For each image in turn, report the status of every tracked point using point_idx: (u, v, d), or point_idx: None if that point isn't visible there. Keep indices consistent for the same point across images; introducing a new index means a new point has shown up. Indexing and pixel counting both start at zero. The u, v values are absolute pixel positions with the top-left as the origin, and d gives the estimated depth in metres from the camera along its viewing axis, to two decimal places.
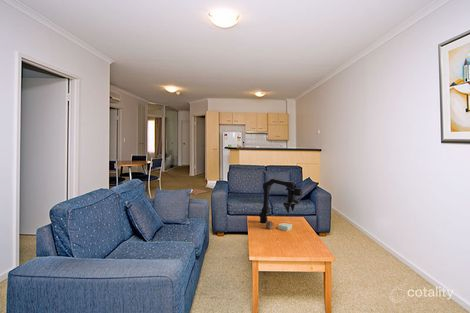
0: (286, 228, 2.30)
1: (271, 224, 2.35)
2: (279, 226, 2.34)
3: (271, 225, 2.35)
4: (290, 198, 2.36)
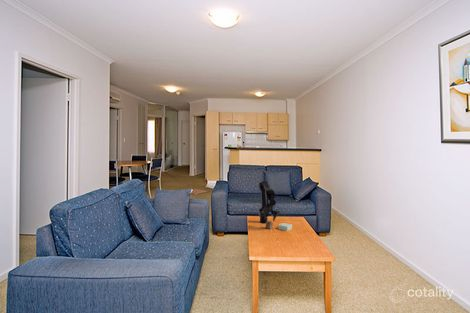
0: (286, 228, 2.30)
1: (271, 224, 2.35)
2: (279, 226, 2.34)
3: (271, 225, 2.35)
4: None
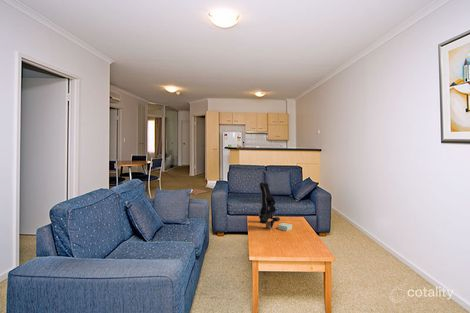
0: (286, 228, 2.30)
1: None
2: (279, 226, 2.34)
3: None
4: None
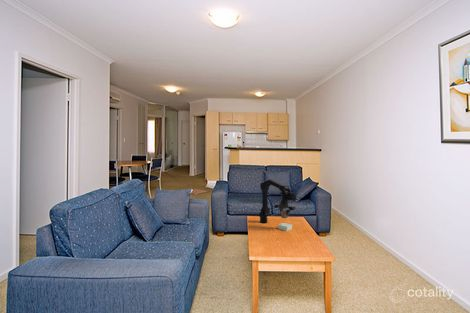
0: (285, 228, 2.30)
1: None
2: (279, 226, 2.35)
3: None
4: None
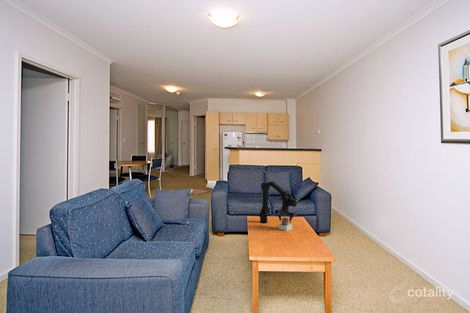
0: (285, 228, 2.30)
1: (287, 220, 2.35)
2: (279, 226, 2.35)
3: (287, 221, 2.35)
4: None
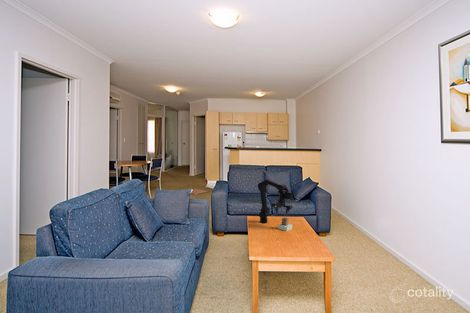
0: (285, 228, 2.30)
1: (287, 220, 2.34)
2: (279, 226, 2.35)
3: (287, 221, 2.34)
4: None
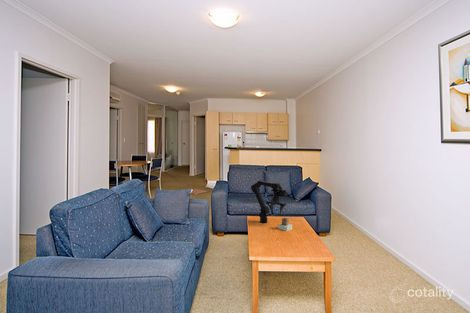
0: (286, 228, 2.30)
1: (287, 220, 2.34)
2: (279, 226, 2.35)
3: (287, 221, 2.34)
4: None
